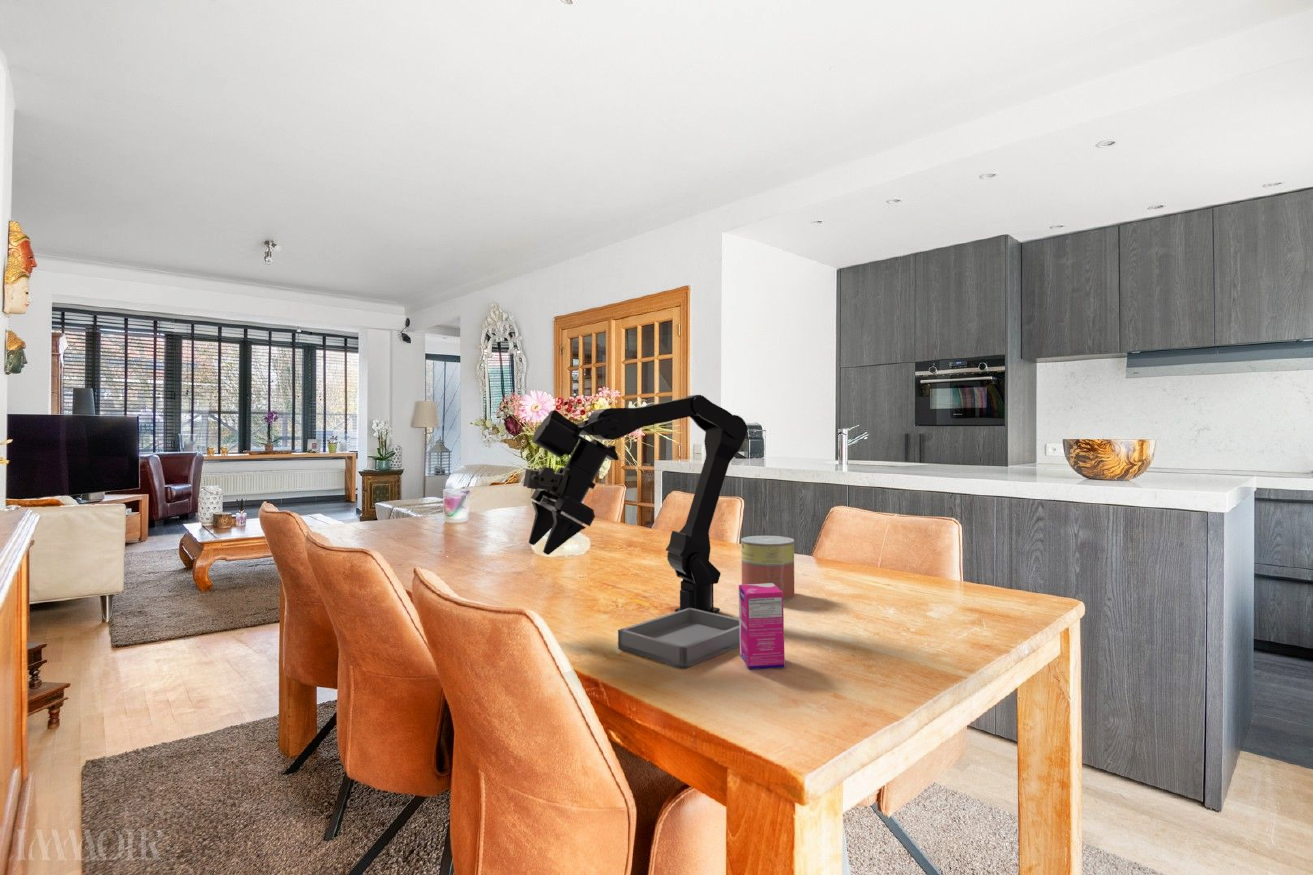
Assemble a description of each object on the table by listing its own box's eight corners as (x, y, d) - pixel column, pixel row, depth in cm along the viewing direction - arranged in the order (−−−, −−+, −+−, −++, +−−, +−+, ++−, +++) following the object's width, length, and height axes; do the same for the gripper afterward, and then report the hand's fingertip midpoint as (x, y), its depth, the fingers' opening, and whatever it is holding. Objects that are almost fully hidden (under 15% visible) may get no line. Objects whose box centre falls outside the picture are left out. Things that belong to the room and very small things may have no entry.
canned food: (756, 586, 148) (755, 533, 148) (803, 593, 142) (803, 538, 141) (731, 597, 139) (731, 540, 139) (780, 605, 132) (780, 545, 132)
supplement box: (738, 656, 102) (737, 583, 102) (775, 655, 103) (775, 582, 103) (746, 670, 97) (746, 592, 96) (786, 668, 97) (785, 591, 97)
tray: (689, 623, 120) (689, 607, 120) (753, 640, 110) (753, 622, 110) (618, 648, 107) (618, 629, 107) (683, 669, 97) (683, 648, 97)
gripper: (529, 446, 123) (486, 520, 120) (559, 450, 106) (511, 537, 103) (577, 474, 128) (538, 547, 124) (614, 483, 111) (569, 567, 108)
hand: (538, 548), depth 115 cm, fingers open, 9 cm apart
